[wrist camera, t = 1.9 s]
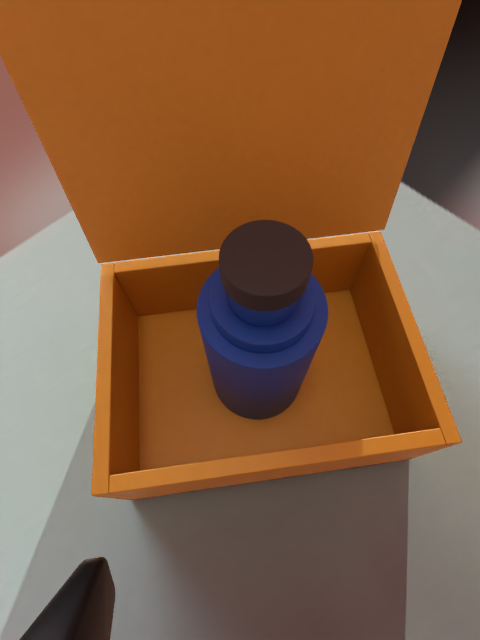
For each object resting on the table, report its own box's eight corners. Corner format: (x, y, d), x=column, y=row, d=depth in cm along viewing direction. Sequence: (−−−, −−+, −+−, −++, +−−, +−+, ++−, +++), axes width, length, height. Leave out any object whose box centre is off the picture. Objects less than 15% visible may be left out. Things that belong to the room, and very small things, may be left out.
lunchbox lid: (495, -96, 11) (437, -110, 13) (-52, -53, 10) (-14, -76, 12) (384, 230, 20) (362, 189, 23) (98, 263, 20) (104, 217, 22)
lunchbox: (410, 459, 21) (463, 442, 16) (130, 500, 20) (90, 496, 15) (354, 285, 26) (380, 230, 21) (130, 313, 25) (100, 263, 20)
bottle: (319, 380, 22) (384, 263, 12) (251, 439, 21) (257, 365, 10) (261, 320, 24) (272, 172, 14) (195, 370, 23) (151, 247, 12)
